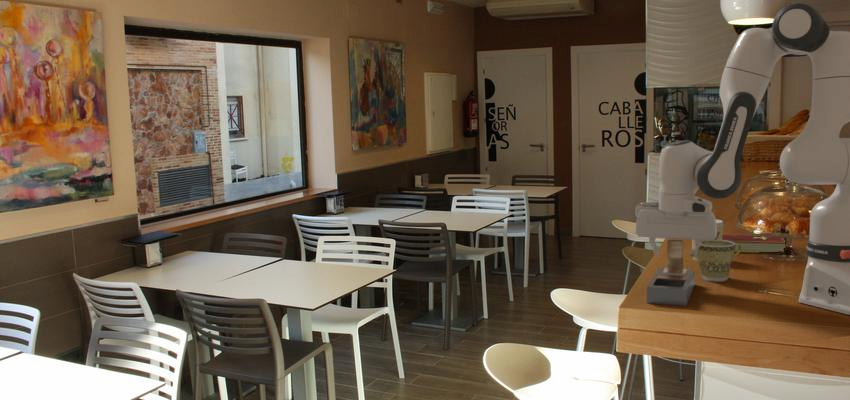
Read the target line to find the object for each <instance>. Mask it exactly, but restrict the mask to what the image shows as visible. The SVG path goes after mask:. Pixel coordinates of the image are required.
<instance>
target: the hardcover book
mask: <svg viewBox="0 0 850 400" xmlns="http://www.w3.org/2000/svg"><path fill="white" fill-rule="evenodd" d="M764 236H765V235H762V236H754V234H753V235H752V234H751V235H750V234H724V233H723V234H722V240H726V241H731V242H734V243H738V244H740V246H741V251H740V252H739V253H759V252H778V251H782V250H783V249H784V248H785V249H786V244H785V241H786V240H785V239H784V237H783V238H777V237H764ZM738 250H739V246H738V245H737V246H735V250H734V253H737V252H738Z"/></svg>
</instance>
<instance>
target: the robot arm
mask: <svg viewBox="0 0 850 400" xmlns="http://www.w3.org/2000/svg"><path fill="white" fill-rule="evenodd" d="M805 56H807V57H809V59H810V60H811V66H812V85H811V86H812V88H811V89H812V90H811V91H812V93H811V106H810V114H809V117H808V120H807V123H806V124H805V126H804V128H803V129H802V130H801V131H800V133H799V134H798V136H796V137H795V138H794V139H793V140H791V141H790V142H789V143H788V144H786V145H785V147H784V148H783V150H782V151H781V154H780V157H779V167H780V170H781V173H782V174H783V177H784V178H785V179H786V180H787V181H789V182H791V183H797V184H803V185H808V186H809V185H810V186H819V185H821V186H822V185H824V186H825V185H836V186H835V188H834V191H833V192H832V194H831V195H830V196H829V197H827V198H825V199H823V200H821V201H819V202H817V203H816V204H815V205H814V206H813V207H812V209H811V211H810V215H809V237H808V238H809V239H808V240H807V243H806V247H805V248H806V255H807V256H808V257H807V262H806V266H805V270H804V274H803V281H802V287H801V289H800V290H801V292H800V294H799V298H798V302H799V303H802V304H805V305H809V306H813V307H816V308H819V309H820V308H821V309H823V310H824V309H825V310H828V311H832V312H837V313H840V314H845V315H849V316H850V137H840V133H841V129H842V128H843V127H844V125H846V124H848V123H850V31H844V30H837V31H833V30H831V28H830V26H829V24H828V23H827V22H826V20H825V19H824V17H823V15H822V14H821V13H820V11H819V10H818V9H817V8H815V7H814V6H813V5H811V4H809V3H806V2H805V3H804V2H795V3H791V4H787V5H786V6H784V7H782V8H781V9H780V10H779V11H778V12H777V13H776V15H775V17H774V18H773V21H772V25H771V27H769V28H763V27H762V28H761V27H751V28H747V29H745V30H743V31H742V32H741V33H740V34H739V36H738V38H737V40H736V42H735V43H734V45H733V47H732V49H731V51H730V53H729V56H728V58H727V61H726V64H725V66H724V69H723V72H722V75H721V79H720V84H719V93H718V94H719V98H720V101H721V104H722V108H723V118H722V123H721V126H720V129H719V133H718V135H717V136H718V137H717V139H716V143H715V144H714V149H713V151H710V150H707V149H706V148H703V147H701V146H699V145H697V144H695V143H694V142H693V141H692V140H688V139H687V140H685V139H684V140H677V141H672V142H668V143H667V144H665V145H664V146H662V148H661V151H660V155H659V162H658V177H659V183H660V184H659V188H658V201H657V202H647V201H642V202H639V203H637V204H636V205H635V208H634V211H635V212H634V214H635V217H636V221H635V222H636V223H635V235H637V237H639V238H648V240H649V241H648V242H649V244H650V245H651V247H652V248H653V251H652V252H653V255H660V254H661V251H660V250H661V247H660V246H657V244H656V240H657V239H669V240H690V241H692V240H696V244H698V245H697V246H696V248H695V249H692V248H691V249H690V257H692V258H693V257H697V250H698V249H699V247H700V246H701V244H702V240H705V241H713V240H714V239H715V238H716V237H717V226H716V216H715V212H713V211H712V209H713V203H712V201H710V200H707V199H704V198H701V197H699V196H696V195H695V191H696V189H699V190H700V191H701V192H702V193H703V194H704V195H705V196H707V197H709V198H711V199H712V198H713V199H725V198H728V197H729V196H731V195H733V194H734V193H735V192H737V191H738V188H740V185H741V182H742V169H741V168H742V167H741V159H742V154H743V151H744V147H745V144H746V141H747V138H748V135H749V131H750V128H751V124H752V122H753V119H754V116H755V114H756V112H757V110H758V108H759V105H760V103H761V101H762V99H763V97H764V95H765V93H766V91H767V89H768V86H769V84H770V81H771V79H772V75H773V72H774V69H775V66H776V64H777V63H778V61H779V60H780V59H781V58H794V57H795V58H796V57H797V58H798V57H805Z"/></svg>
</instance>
